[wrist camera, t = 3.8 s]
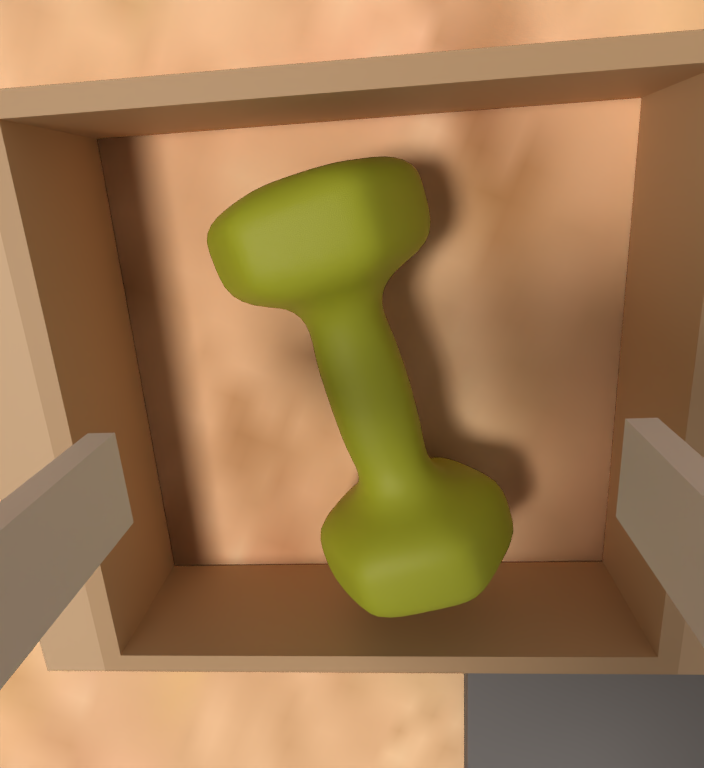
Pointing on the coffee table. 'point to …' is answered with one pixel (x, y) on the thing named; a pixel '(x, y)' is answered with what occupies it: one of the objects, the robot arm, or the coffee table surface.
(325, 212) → the dumbbell
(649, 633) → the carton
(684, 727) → the mat
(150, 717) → the coffee table surface
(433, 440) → the coffee table surface
